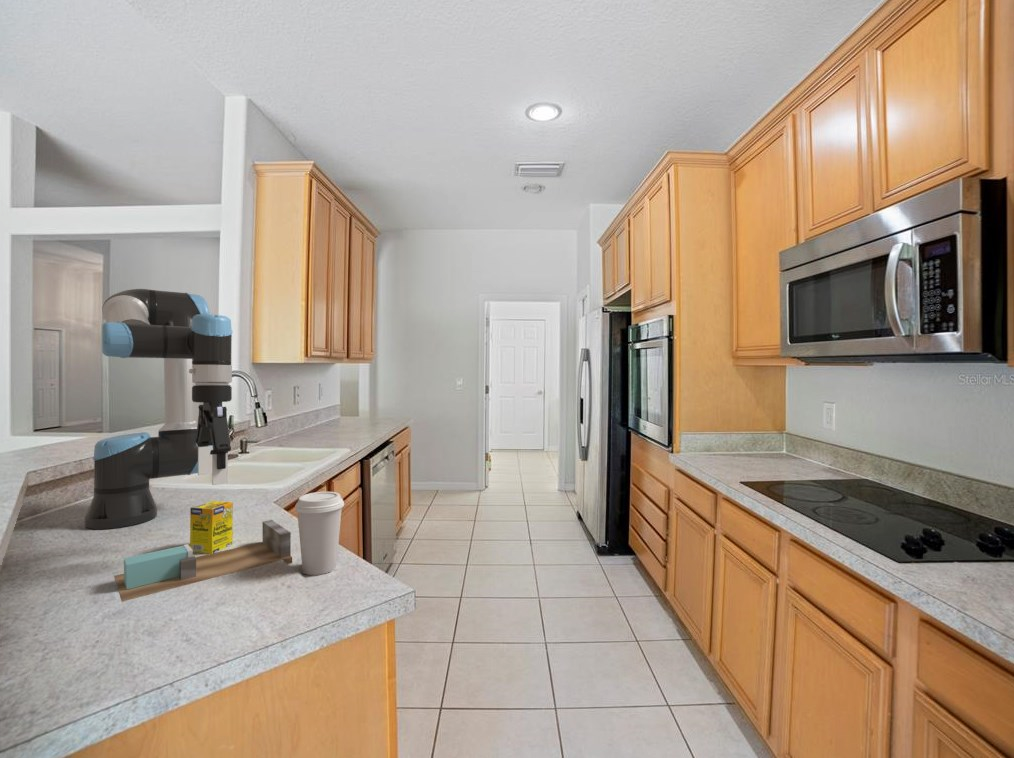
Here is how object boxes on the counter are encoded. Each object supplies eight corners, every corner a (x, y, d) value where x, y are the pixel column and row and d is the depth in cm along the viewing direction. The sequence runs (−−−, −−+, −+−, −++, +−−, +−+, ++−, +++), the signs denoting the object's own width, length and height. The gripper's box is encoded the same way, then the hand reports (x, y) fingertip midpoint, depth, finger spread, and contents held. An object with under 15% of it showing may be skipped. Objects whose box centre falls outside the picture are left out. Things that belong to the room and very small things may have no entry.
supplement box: (212, 559, 100) (212, 509, 100) (189, 556, 101) (189, 507, 101) (233, 549, 106) (233, 501, 106) (211, 547, 107) (211, 500, 107)
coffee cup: (295, 582, 89) (295, 504, 89) (293, 564, 98) (293, 493, 98) (347, 572, 94) (347, 499, 94) (340, 556, 102) (340, 488, 102)
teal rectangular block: (123, 581, 86) (123, 557, 86) (187, 566, 93) (187, 544, 93) (126, 590, 83) (126, 564, 83) (192, 573, 90) (192, 550, 90)
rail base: (114, 581, 89) (114, 549, 89) (270, 545, 109) (270, 518, 109) (122, 608, 79) (122, 572, 79) (292, 562, 99) (292, 533, 99)
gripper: (180, 383, 110) (181, 473, 110) (205, 385, 92) (205, 491, 92) (217, 383, 115) (217, 468, 115) (247, 384, 97) (247, 485, 97)
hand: (212, 479), depth 103 cm, fingers open, 13 cm apart
